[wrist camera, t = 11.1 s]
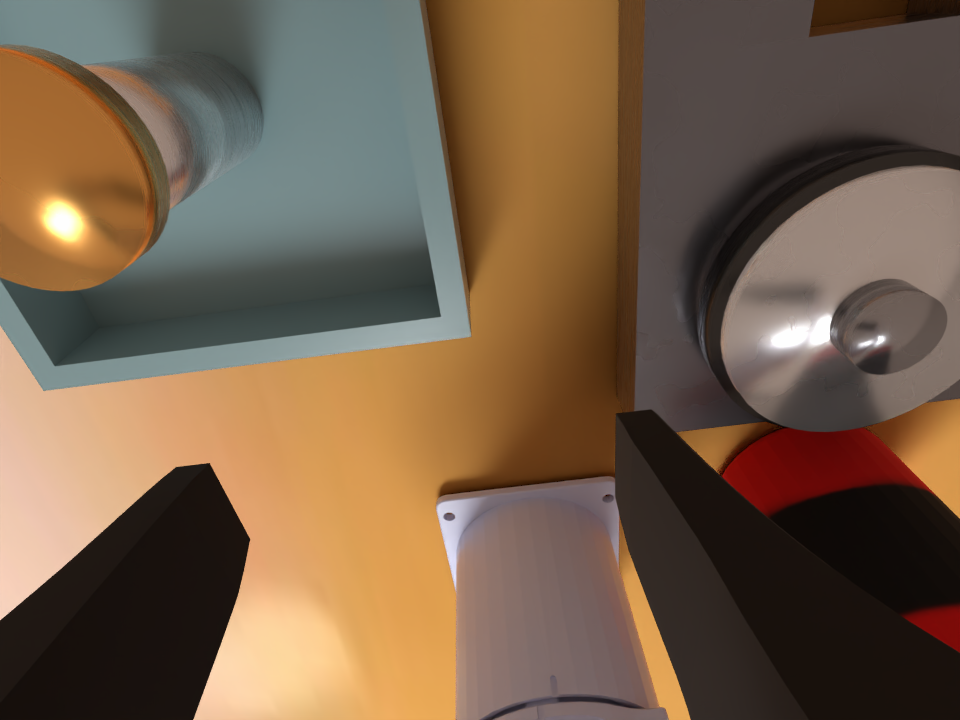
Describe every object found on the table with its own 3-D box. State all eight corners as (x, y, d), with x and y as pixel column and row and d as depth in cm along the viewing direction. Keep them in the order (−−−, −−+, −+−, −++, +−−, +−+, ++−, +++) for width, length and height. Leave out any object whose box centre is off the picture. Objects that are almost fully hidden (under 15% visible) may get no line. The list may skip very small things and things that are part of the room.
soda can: (914, 471, 25) (1234, 789, 15) (771, 560, 28) (955, 877, 17) (822, 384, 22) (1136, 699, 12) (675, 493, 25) (825, 820, 15)
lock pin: (294, 171, 17) (180, 277, 10) (171, 187, 17) (-26, 303, 10) (252, 25, 15) (72, 29, 8) (113, 44, 15) (-183, 65, 8)
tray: (469, 295, 19) (471, 336, 17) (96, 343, 20) (43, 390, 17) (387, -256, 12) (368, -327, 10) (-189, -159, 13) (-348, -202, 10)
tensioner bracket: (925, 359, 22) (1054, 453, 17) (616, 396, 22) (659, 498, 17) (1168, -334, 12) (1614, -555, 7) (620, -243, 13) (715, -399, 8)
